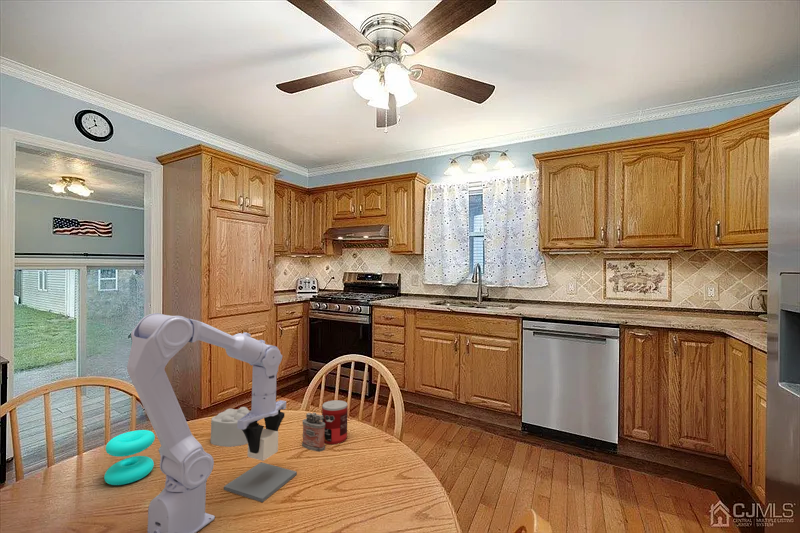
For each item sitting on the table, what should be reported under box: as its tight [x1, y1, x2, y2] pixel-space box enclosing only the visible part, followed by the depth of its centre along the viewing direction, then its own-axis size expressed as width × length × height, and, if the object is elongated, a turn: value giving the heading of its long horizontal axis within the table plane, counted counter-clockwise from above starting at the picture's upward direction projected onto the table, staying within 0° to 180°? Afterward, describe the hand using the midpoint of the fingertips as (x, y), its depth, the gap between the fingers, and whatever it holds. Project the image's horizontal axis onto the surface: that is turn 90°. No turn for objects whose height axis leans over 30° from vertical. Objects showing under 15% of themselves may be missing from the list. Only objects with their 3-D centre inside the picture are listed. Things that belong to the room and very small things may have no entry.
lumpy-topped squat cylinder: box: [210, 406, 251, 448], centre depth 109 cm, size 10×13×9 cm
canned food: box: [321, 399, 349, 445], centre depth 109 cm, size 8×8×11 cm
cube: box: [247, 427, 279, 462], centre depth 86 cm, size 5×5×5 cm
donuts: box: [103, 429, 156, 486], centre depth 88 cm, size 10×10×10 cm
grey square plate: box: [223, 461, 298, 503], centre depth 86 cm, size 12×12×1 cm
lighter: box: [301, 412, 326, 452], centre depth 104 cm, size 8×3×10 cm, turn 62°
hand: (262, 447), depth 86 cm, fingers closed on cube, 5 cm apart
